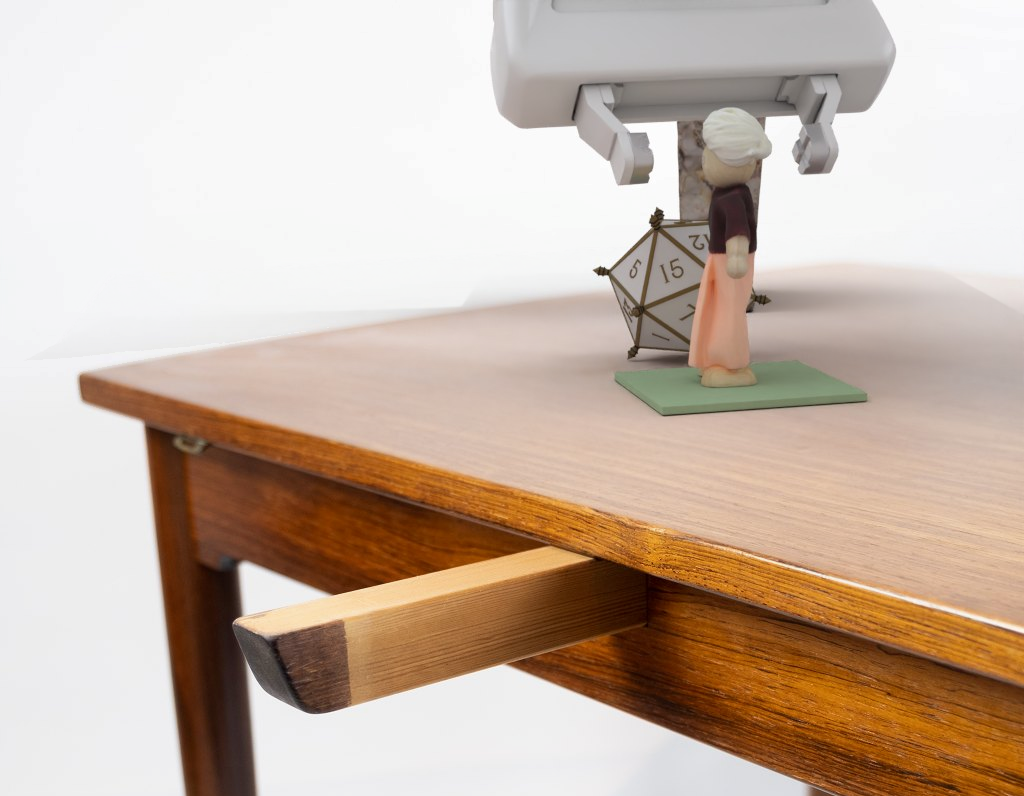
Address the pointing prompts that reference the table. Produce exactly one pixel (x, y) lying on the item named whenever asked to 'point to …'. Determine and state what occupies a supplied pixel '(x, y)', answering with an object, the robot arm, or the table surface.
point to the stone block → (693, 180)
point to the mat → (738, 389)
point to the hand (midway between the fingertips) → (730, 170)
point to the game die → (663, 283)
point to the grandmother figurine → (728, 250)
